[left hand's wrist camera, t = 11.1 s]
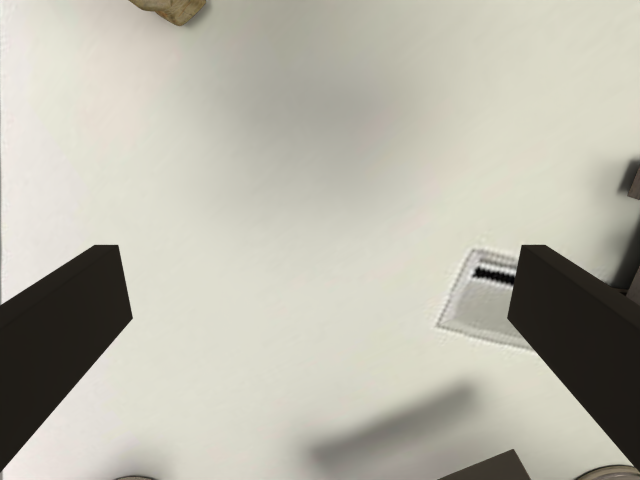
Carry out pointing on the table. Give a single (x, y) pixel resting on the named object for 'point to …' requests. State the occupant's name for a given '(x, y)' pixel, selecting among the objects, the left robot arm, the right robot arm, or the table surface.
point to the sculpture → (172, 9)
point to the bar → (493, 469)
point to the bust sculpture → (134, 478)
